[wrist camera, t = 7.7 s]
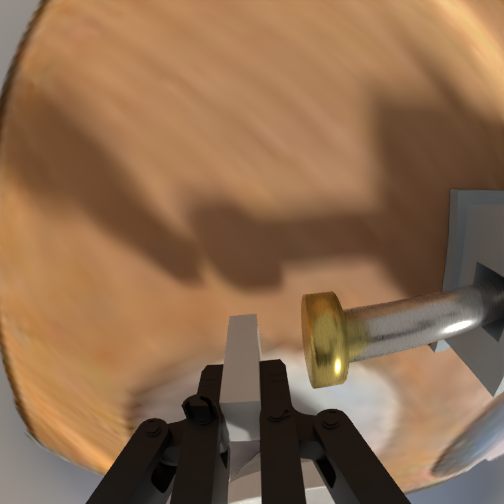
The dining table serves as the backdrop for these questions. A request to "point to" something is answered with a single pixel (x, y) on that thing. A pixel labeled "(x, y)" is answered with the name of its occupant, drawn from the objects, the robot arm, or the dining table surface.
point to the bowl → (249, 484)
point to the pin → (389, 326)
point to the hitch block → (476, 277)
